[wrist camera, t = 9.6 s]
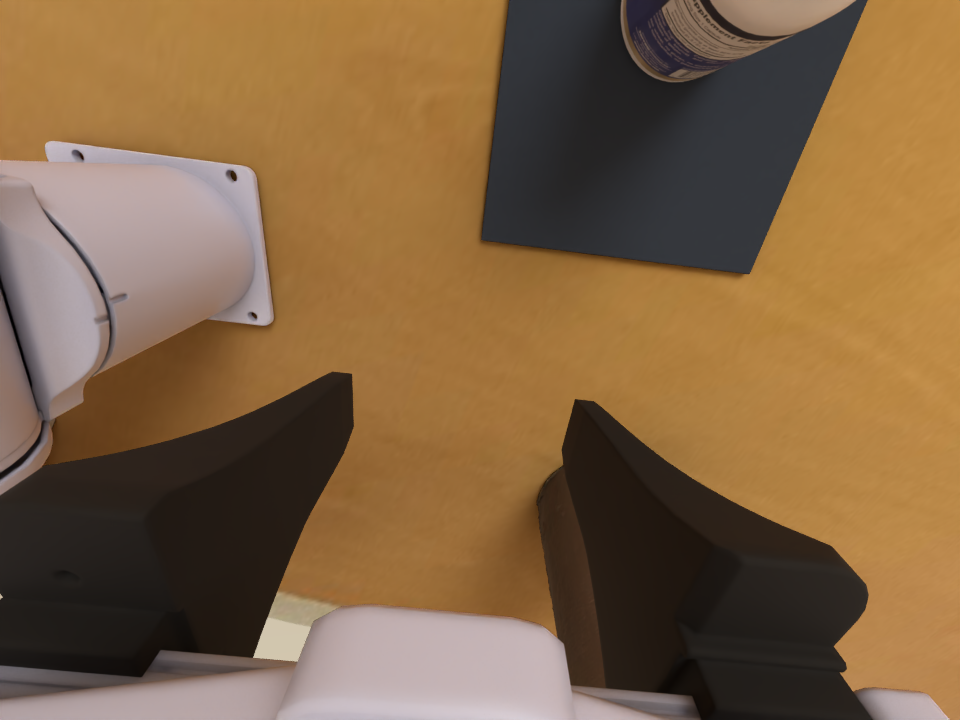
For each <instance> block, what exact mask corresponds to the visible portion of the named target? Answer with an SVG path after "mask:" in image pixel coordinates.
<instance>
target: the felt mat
mask: <svg viewBox="0 0 960 720" xmlns="http://www.w3.org/2000/svg"><path fill="white" fill-rule="evenodd" d="M621 1H622V0H509V7H508V16H507V24H506V33H505V41H504V50H503V59H502V67H501V76H500V84H499V93H498V101H497V110H496V118H495V127H494V136H493V144H492V153H491V161H490V170H489V178H488V187H487V195H486V204H485V213H484V221H483V230H482V238H481V240H484V241H492V242H500V243H507V244H515V245H523V246H531V247H539V248H547V249H555V250H563V251H570V252H578V253H586V254H594V255H602V256H610V257H618V258H625V259H633V260H641V261H649V262H657V263H665V264H673V265H681V266H688V267H696V268H704V269H712V270H720V271H728V272H736V273H743V274H750V272H751V270H752V267H753V265H754V263H755V260H756V258H757V256H758V253H759V251H760V249H761V246H762V244H763V242H764V239H765V237H766V235H767V232H768V230H769V228H770V226H771V223H772V221H773V219H774V216H775V214H776V212H777V209H778V207H779V205H780V202H781V200H782V198H783V195H784V193H785V191H786V188H787V186H788V184H789V181H790V179H791V177H792V174H793V172H794V170H795V168H796V165H797V163H798V161H799V158H800V156H801V154H802V151H803V149H804V147H805V144H806V142H807V140H808V137H809V135H810V133H811V130H812V128H813V126H814V123H815V121H816V119H817V117H818V114H819V112H820V110H821V107H822V105H823V103H824V100H825V98H826V96H827V93H828V91H829V89H830V86H831V84H832V82H833V79H834V77H835V75H836V72H837V70H838V68H839V65H840V63H841V61H842V59H843V56H844V54H845V52H846V49H847V47H848V45H849V42H850V40H851V38H852V35H853V33H854V31H855V28H856V26H857V24H858V21H859V19H860V17H861V14H862V12H863V10H864V7H865V5H866V3H867V1H868V0H856V1H854V2H853V3H852V4H850V5H849V6H848V7H846V8H845V9H843V10H841V11H840V12H838V13H837V14H835V15H833V16H831V17H829V18H828V19H826V20H824V21H822V22H820V23H818V24H816V25H814V26H812V27H810V28H809V29H807V30H805V31H802V32H799V33H797V34H795V35H793V36H790V37H789V38H786V39H784V40H782V41H780V42H777V43H775V44H773V45H771V46H769V47H767V48H764V49H762V50H760V51H758V52H756V53H754V54H751V55H749V56H747V57H745V58H743V59H740V60H738V61H736V62H734V63H731V64H729V65H727V66H725V67H723V68H720V69H718V70H716V71H714V72H712V73H709V74H707V75H704V76H702V77H699V78H696V79H693V80H689V81H684V82H667V81H662V80H659V79H656V78H654V77H652V76H650V75H648V74H647V73H646V72H644V71H643V70H642V69H641V68H640V67H639V66H638V65H637V64H636V63H635V61H634V60H633V59H632V57H631V55H630V53H629V51H628V49H627V47H626V44H625V41H624V38H623V33H622V27H621Z"/></svg>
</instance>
